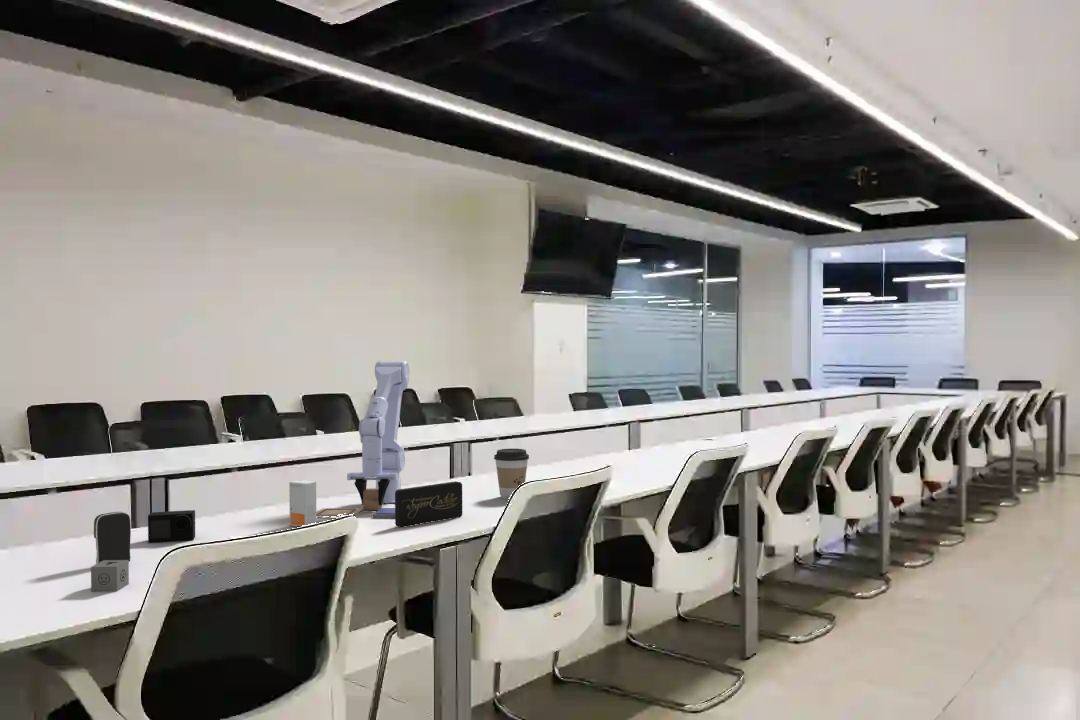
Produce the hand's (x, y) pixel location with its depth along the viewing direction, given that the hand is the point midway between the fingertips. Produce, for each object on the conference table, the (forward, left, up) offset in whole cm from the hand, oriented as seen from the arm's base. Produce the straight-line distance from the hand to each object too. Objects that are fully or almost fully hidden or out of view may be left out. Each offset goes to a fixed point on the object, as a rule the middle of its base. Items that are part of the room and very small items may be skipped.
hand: (372, 504), depth 242 cm
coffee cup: (-22, +39, -2) cm, 45 cm away
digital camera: (+40, -40, -2) cm, 57 cm away
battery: (+62, -42, -2) cm, 75 cm away
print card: (+6, -9, -2) cm, 11 cm away
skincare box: (+22, -13, -2) cm, 26 cm away
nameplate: (+15, +20, -2) cm, 25 cm away
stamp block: (0, 0, -2) cm, 2 cm away
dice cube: (+80, -32, -2) cm, 86 cm away
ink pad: (+7, +8, -2) cm, 10 cm away
